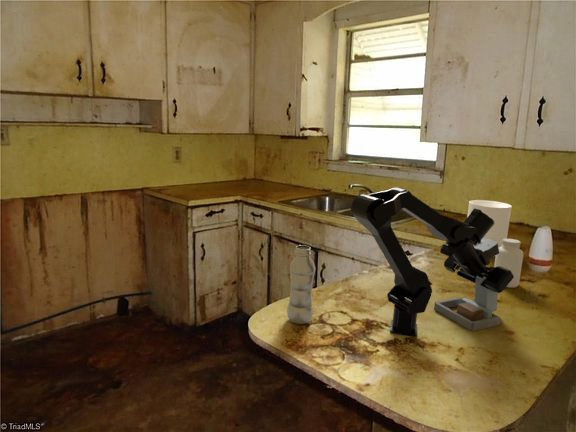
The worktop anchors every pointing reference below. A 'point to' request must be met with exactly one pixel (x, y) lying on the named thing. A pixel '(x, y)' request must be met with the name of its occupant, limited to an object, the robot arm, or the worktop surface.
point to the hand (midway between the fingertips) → (488, 287)
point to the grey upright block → (484, 299)
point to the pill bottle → (510, 259)
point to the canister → (494, 218)
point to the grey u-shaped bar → (476, 325)
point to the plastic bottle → (301, 286)
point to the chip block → (470, 311)
